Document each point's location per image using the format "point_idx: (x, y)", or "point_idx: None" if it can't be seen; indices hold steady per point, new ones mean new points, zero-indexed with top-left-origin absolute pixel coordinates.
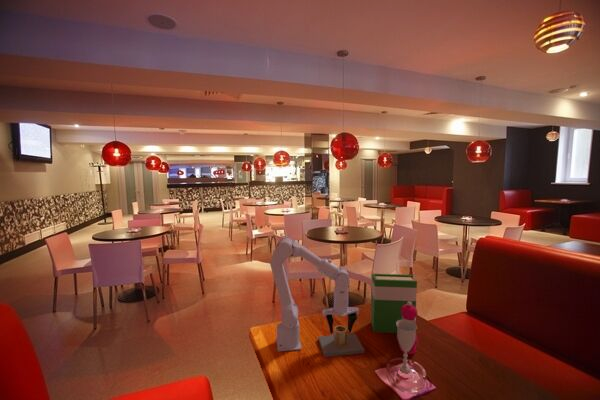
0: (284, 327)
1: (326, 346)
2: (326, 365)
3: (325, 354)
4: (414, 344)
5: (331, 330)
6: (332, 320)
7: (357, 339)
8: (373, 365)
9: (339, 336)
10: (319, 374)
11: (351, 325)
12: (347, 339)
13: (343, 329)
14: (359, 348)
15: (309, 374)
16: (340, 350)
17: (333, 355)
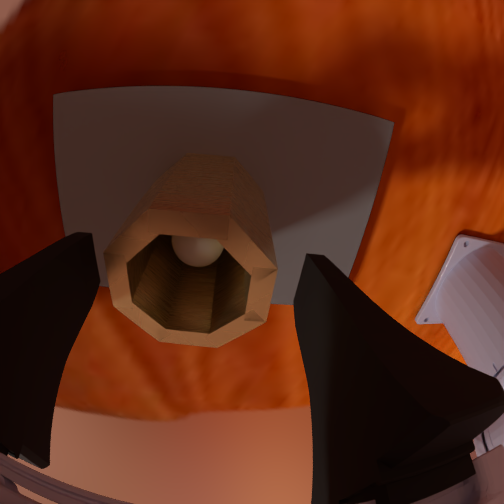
0: None
1: (342, 192)
2: (399, 40)
3: (381, 119)
4: None
5: (341, 274)
6: (451, 405)
7: (67, 215)
8: None
9: (234, 196)
10: (455, 8)
11: (25, 272)
12: None
13: (148, 288)
14: (80, 106)
15: (493, 41)
16: (250, 107)
17: (315, 101)
